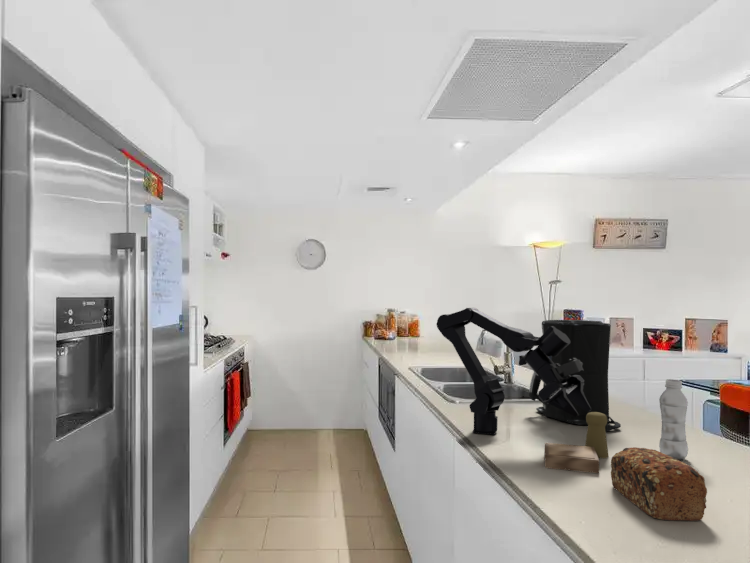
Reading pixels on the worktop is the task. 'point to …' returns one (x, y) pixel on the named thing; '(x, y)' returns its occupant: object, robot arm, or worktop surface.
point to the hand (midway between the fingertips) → (583, 413)
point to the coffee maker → (594, 354)
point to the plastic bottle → (673, 420)
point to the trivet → (571, 457)
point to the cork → (597, 433)
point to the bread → (659, 484)
